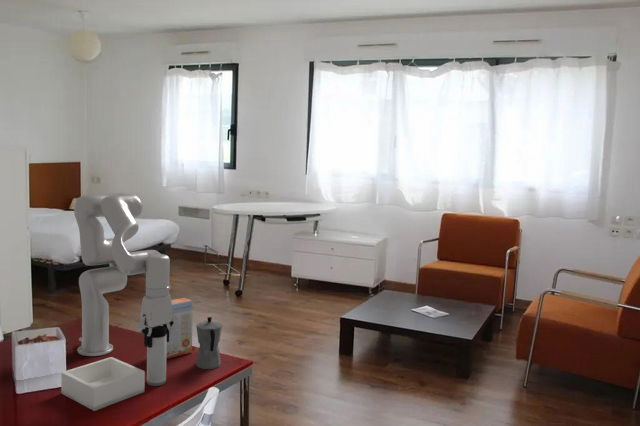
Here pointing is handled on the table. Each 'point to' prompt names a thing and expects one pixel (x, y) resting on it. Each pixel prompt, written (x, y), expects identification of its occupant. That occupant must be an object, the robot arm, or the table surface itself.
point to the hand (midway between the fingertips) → (156, 343)
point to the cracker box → (180, 329)
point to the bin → (102, 383)
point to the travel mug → (157, 357)
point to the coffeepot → (208, 344)
